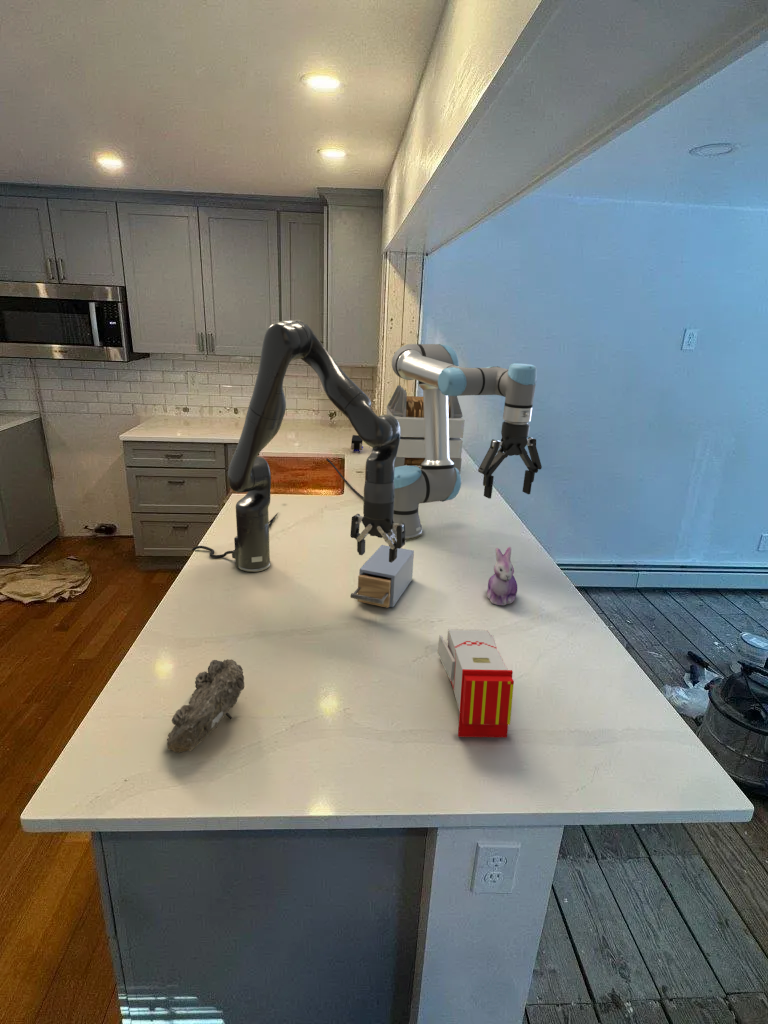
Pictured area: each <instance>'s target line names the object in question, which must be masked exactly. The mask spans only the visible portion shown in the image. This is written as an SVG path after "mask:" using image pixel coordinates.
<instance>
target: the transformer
mask: <svg viewBox="0 0 768 1024" xmlns="http://www.w3.org/2000/svg"><path fill="white" fill-rule="evenodd" d="M407 394H408V393H407V390H406V389H404V388H403V387H402V385H399V384H398V385H397V386H396V388H395V390H394V392H393V394H392V395H391V398H390V400H389V402H388V404H387V405H386V413H385V415H391V416H393V417H395V418H396V419H397V421H398V423H399V425H400V442H399V447H398V451H397V455H396V459H395V464H394V466H395V467H399V466H417V467H421V464H422V462H423V461H424V460H425V438H424V403H423V396H415V395H414V396H413V395H412V396H411V395H407ZM448 414H449V458H450V460H451V461H452V462H453V463H454V467H455V468H456V469H458V471H459V474H460V475H461V472H462V461H463V460H462V453H463V442H464V441H463V440H462V439H463V438H464V431H465V430H464V429H465V419H464V418H463V411H462V408H461V405H460V402H459V398H458V396H448Z"/></svg>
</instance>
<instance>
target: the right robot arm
mask: <svg viewBox="0 0 768 1024" xmlns="http://www.w3.org/2000/svg"><path fill="white" fill-rule="evenodd" d="M391 368H392V371H393V372H394V374H395V375H396V376H397V377H399V378H400V379H403V380H405V381H414V380H415V381H418V386H419V388H420V389H421V390H422V397H423V403H424V438H425V460H424V461H423V462H422V464H421V466H407V465H404V466H399V467H395V469H394V488H395V492H394V494H395V498H394V514H393V521H394V523H397V524H401V523H404V524H405V541H410V540H415V539H418V538H420V537H421V536H422V535H423V525H422V524H421V518H420V515H419V507H420V506H419V505H420V504H427V503H437V502H446V501H452V500H454V499H455V498H456V497H457V495H458V494H459V493H460V490H461V486H462V476H461V474H459V471H458V469H456V468H455V467H454V463H453V462H452V461H451V460H450V458H449V414H448V396H457V397H459V396H460V397H461V396H500V397H504V406H503V412H502V413H503V414H502V420H503V422H502V423H501V431H500V433H501V439H500V440H496V439H494V438H493V439H491V441H490V445H489V448H488V450H487V452H486V454H485V456H484V457H483V459H482V461H481V463H480V465H479V467H478V469H477V472H478V473H479V474H482V475H483V478H482V485H483V487H484V489H483V496H484V497H485V498H487V499H489V500H491V499H492V495H493V494H492V493H493V487H494V478H495V477H494V475H493V474H494V473H495V472H496V470H497V468H498V467H499V466H500V465H501V464H502V462H503V461H504V460H505V459H507V458H508V457H512V456H519V457H520V459H521V460H522V462H523V464H524V465H525V467H526V468H527V469H526V470H525V471H524V477H523V484H522V493H523V494H524V493H525V494H526V495H531V492H532V484H533V483H534V481H535V475H536V474H537V473H539V470H542V468H543V465H542V463H541V459H540V455H539V451H538V449H537V439H536V438H534V437H531V436H530V429H531V424H530V422H531V420H532V412H533V407H534V406H533V404H534V399H535V394H536V393H535V392H536V385H537V381H538V380H537V374H538V368H537V367H536V366H535V365H534V364H528V363H511V364H509V366H508V368H503V367H501V366H498V365H497V366H493V365H491V366H487V367H462V366H460V361H459V356H458V354H457V352H456V350H455V349H454V348H453V347H452V346H450V345H449V344H441V343H408V344H405V345H403V346H400V347H399V348H398V349H397V350H396V351H395V352H394V353H393V356H392V358H391ZM526 447H527V449H528V451H527V449H526ZM528 453H529V454H528ZM325 459H326V462H328V463H329V464H330V465H331V466H332V467H333V469H334V470H335V472H337V473H338V475H339V476H340V477H341V479H342V480H343V481H344V483H345V484H346V485H347V486H348V487H349V488H350V489H351V490H352V492H354V493H355V494H356V495H357V496H358V497H359V498H361V499H362V500H363V501H364V495H362V494H360V492H358V491H357V490H356V489H355V488H354V487H353V486H352V485H351V484H350V483H349V482H348V481H347V480H346V478H345V477H344V475H342V473H341V471H340V470H339V469H338V468H337V467H336V466H335V464H334V463H333V462H332V461H331V460H330V458H325ZM392 532H393V533H394V535H395V539H396V540H397V532H395V529H394V528H393V529H392ZM387 535H388V534H387ZM388 536H389V535H388Z"/></svg>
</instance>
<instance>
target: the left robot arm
mask: <svg viewBox="0 0 768 1024" xmlns="http://www.w3.org/2000/svg"><path fill="white" fill-rule="evenodd" d="M260 352H261V353H260V359H259V366H258V370H257V371H258V372H257V375H256V379H255V382H254V387H253V391H252V395H251V398H250V400H249V404H248V408H247V412H246V416H245V420H244V424H243V428H242V431H241V434H240V437H239V440H238V443H237V445H236V447H235V448H236V449H235V450H234V453H233V455H232V458H231V460H230V463H229V465H228V470H227V483H228V486H229V487H230V489H231V490H232V491H233V492H235V493H238V494H239V493H240V494H241V493H246V494H245V495H244V496H243V497H242V498H241V499H239V500H238V501H237V502H236V504H235V519H236V520H235V521H236V536H235V537H234V538H233V539H234V549H233V550H227V551H224V553H222V554H214V553H215V549H213V548H211V547H209V546H205V545H195V546H194V547H192V548H191V551H196V550H198V549H202V550H206V551H209V552H210V553H209V557H211V558H214V559H220V558H224V557H226V556H227V555H230V554H231V557H232V559H235V560H234V562H235V568H238V569H239V570H241V571H243V572H247V573H257V572H263V571H265V570H267V569H269V568H270V566H271V555H270V554H271V553H270V552H271V551H270V549H271V548H270V527H269V524H270V523H269V521H270V519H269V515H270V514H269V507H270V504H271V492H272V491H271V489H272V477H271V476H272V473H271V468H270V465H269V463H268V461H267V460H266V459H265V458H264V457H262V456H259V454H260V453H261V452H262V451H263V450H264V448H266V447H267V445H268V444H270V442H271V441H272V440H273V438H275V436H276V435H277V434H278V432H279V430H280V429H281V426H282V423H283V421H284V417H285V414H286V410H287V401H286V400H287V399H286V396H285V392H284V379H285V376H286V373H287V370H288V367H289V365H290V363H292V362H293V361H297V360H299V359H300V360H302V361H303V362H304V363H306V364H307V365H308V366H309V367H311V369H312V370H313V371H314V372H315V374H316V375H317V377H318V379H319V381H320V384H321V386H322V388H323V391H324V393H325V395H326V396H327V398H328V400H329V401H330V402H331V403H332V404H333V406H335V408H337V409H338V410H339V412H340V413H341V414H343V416H345V417H346V418H347V419H348V421H349V423H350V425H351V426H352V427H353V429H354V430H355V432H356V435H359V437H360V438H361V439H362V440H363V443H365V444H366V445H367V446H369V447H371V448H372V449H371V453H370V454H369V455H368V457H367V458H366V459H365V460H366V461H365V473H364V475H365V477H364V486H363V497H364V500H363V508H362V509H363V516H362V515H361V514H360V513H356V514H354V515H352V517H351V523H350V533H349V534H350V538H351V539H355V540H356V542H357V543H356V551H357V553H358V555H359V556H363V555H365V553H366V539H365V538H366V537H368V536H370V537H376V538H378V539H382V538H383V540H384V542H385V543H387V546H390V549H389V562H391V563H392V562H393V561H394V560H395V559H396V558H397V548H399V549H400V548H403V547H404V546H405V545H406V540H405V524H404V523H401V524H397V523H394V521H393V514H394V498H395V494H394V492H395V488H394V469H395V466H394V464H395V459H396V455H397V451H398V447H399V442H400V425H399V423H398V421H397V419H396V418H395V417H393V416H391V415H386V414H382V415H379V416H378V415H377V414H376V413H375V412H374V410H373V409H372V408H371V407H372V401H371V398H369V396H368V395H367V394H366V393H365V392H364V391H363V390H362V389H361V388H360V387H359V386H358V385H357V384H356V383H355V382H354V381H353V380H352V379H351V378H350V377H349V376H348V375H347V374H346V373H345V372H344V371H343V369H342V368H341V367H340V366H339V364H338V363H337V362H336V361H335V359H334V358H333V357H332V355H331V354H330V353H329V350H328V349H327V348H326V347H325V346H324V344H323V343H322V342H321V340H320V339H319V337H318V336H317V335H316V333H315V332H314V331H313V330H312V328H311V327H310V326H309V325H308V324H307V323H306V322H305V321H303V320H301V319H288V320H283V321H277V322H274V323H272V324H271V325H269V326H268V327H267V329H266V331H265V334H264V337H263V341H262V347H261V351H260ZM361 524H363V526H364V529H363V530H362V531H361V532H360V526H361ZM393 528H394V529H395V532H397V540H396V539H395V535H394V533H393V532H392V529H393ZM387 534H388V535H389V536H388V535H387Z"/></svg>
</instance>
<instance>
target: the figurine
mask: <svg viewBox="0 0 768 1024" xmlns="http://www.w3.org/2000/svg"><path fill="white" fill-rule="evenodd" d="M511 557H512V547H511V546H509V547H507V548H506V550H505V552H504V553H503V552H502V551H501V549H500V548H499V547H496V548H495V560H496V561H495V565H494V567H493V572H494V573H493V574H492V575H491V576H490V577H489V578H488V581H487V582H488V583H487V592H486V596H487V598H488V600H489V601H490V603H491V604H493V605H496V606H506V605H508V604H512V603H513V602H514V601H515V600H516V596H517V593H518V583H517V579H516V578H515V575H514V573H515V567H514V565H513V563H512V560H511Z"/></svg>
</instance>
